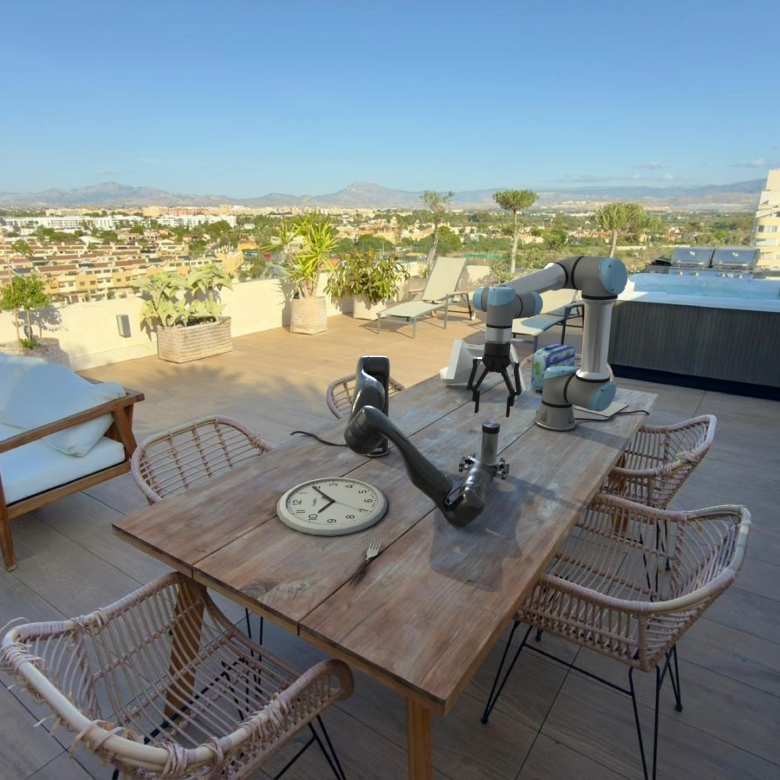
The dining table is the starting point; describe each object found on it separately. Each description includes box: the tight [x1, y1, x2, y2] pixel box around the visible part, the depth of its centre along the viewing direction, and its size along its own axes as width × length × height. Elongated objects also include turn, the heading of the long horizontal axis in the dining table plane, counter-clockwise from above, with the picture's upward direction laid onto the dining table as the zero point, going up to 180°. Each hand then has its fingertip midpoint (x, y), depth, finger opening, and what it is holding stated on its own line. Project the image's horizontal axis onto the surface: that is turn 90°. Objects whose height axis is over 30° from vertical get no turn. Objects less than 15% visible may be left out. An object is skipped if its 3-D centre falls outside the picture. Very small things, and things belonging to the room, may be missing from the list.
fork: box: [349, 538, 383, 585], centre depth 117 cm, size 3×16×2 cm, turn 160°
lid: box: [481, 420, 501, 434], centre depth 160 cm, size 5×5×2 cm
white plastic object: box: [438, 338, 531, 400], centre depth 245 cm, size 37×45×31 cm
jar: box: [479, 431, 500, 467], centre depth 162 cm, size 5×5×15 cm
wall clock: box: [276, 476, 388, 537], centre depth 142 cm, size 30×2×30 cm
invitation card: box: [573, 400, 629, 418], centre depth 226 cm, size 21×1×15 cm
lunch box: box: [530, 343, 576, 392], centre depth 248 cm, size 26×11×21 cm, turn 134°
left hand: (488, 457), depth 160 cm, fingers open, 8 cm apart
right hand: (492, 413), depth 159 cm, fingers open, 9 cm apart
